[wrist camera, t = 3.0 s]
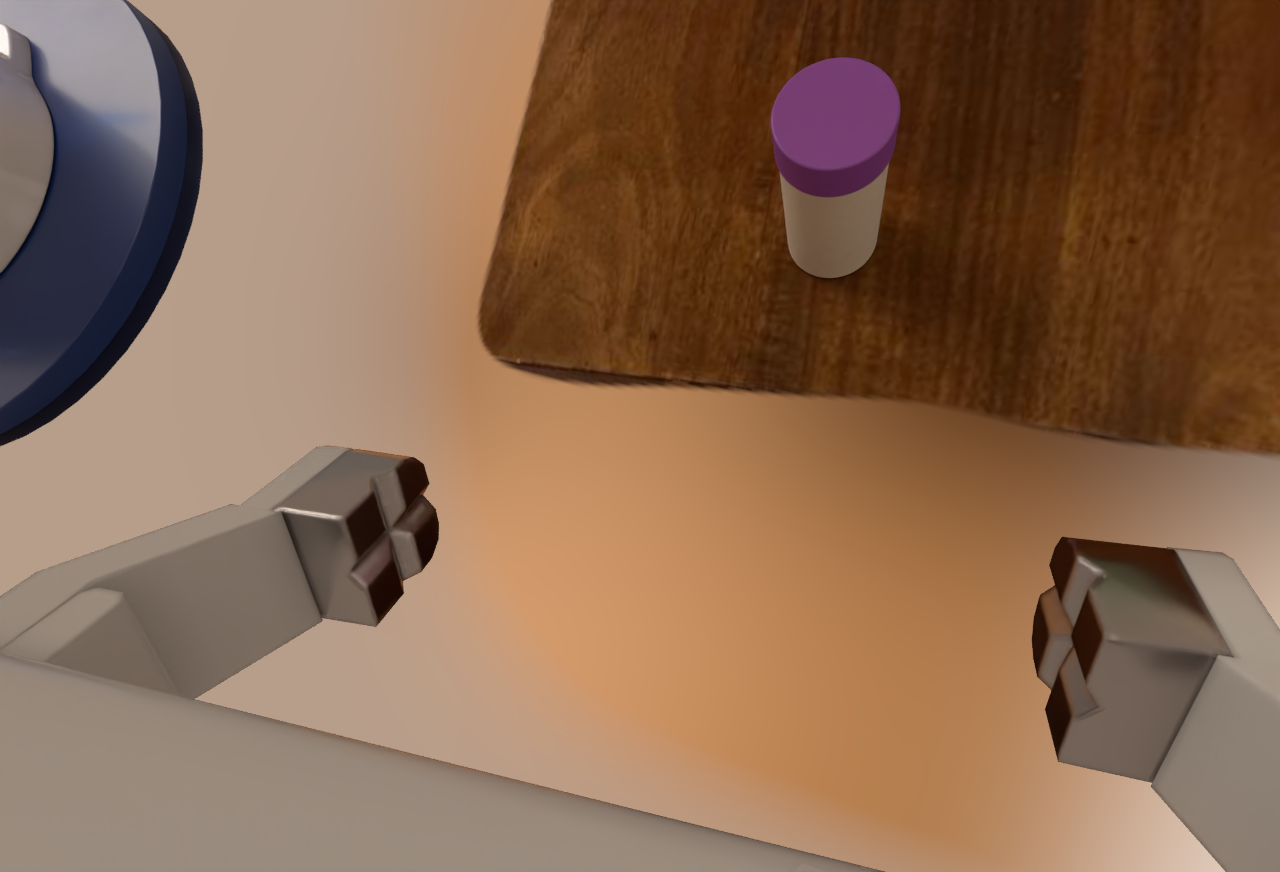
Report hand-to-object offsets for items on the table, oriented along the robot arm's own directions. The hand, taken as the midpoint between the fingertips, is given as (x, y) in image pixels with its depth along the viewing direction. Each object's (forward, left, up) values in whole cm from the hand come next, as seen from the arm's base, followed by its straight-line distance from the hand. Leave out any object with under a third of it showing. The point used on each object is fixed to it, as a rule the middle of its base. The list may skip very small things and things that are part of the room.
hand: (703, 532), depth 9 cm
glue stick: (-1, +12, -16) cm, 20 cm away
